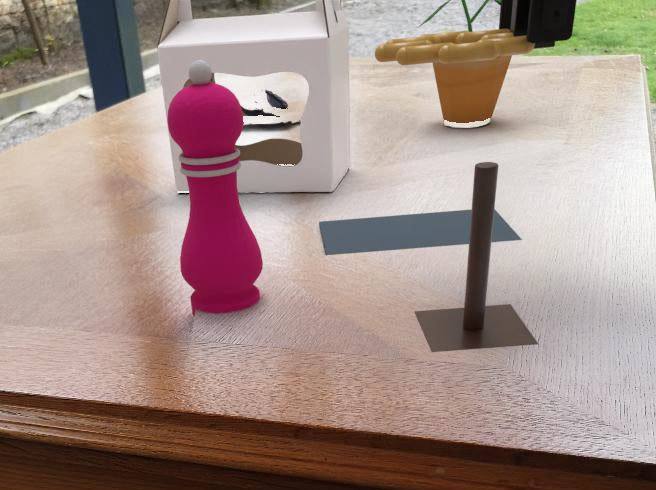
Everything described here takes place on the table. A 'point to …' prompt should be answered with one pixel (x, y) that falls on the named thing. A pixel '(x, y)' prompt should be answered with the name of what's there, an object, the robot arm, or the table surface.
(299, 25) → the gable box
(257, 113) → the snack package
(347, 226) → the mat
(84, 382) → the table surface
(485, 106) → the potted plant
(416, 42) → the yellow rounded bars
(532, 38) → the robot arm
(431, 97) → the table surface
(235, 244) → the pepper mill
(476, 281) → the peg stand
